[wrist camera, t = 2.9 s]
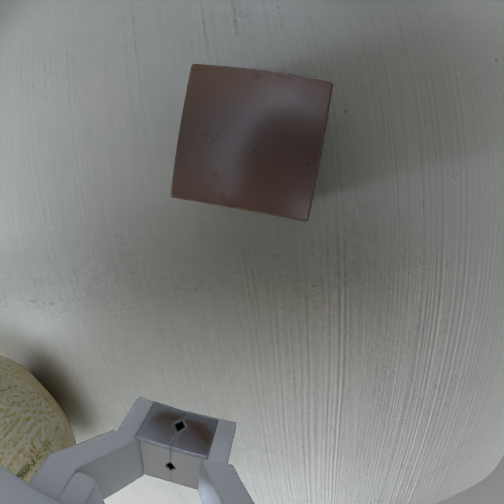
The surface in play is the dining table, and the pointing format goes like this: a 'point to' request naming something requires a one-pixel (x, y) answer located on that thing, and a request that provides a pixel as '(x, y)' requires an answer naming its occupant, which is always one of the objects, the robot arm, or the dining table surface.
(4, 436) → the cantaloupe
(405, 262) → the dining table surface
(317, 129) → the walnut block
